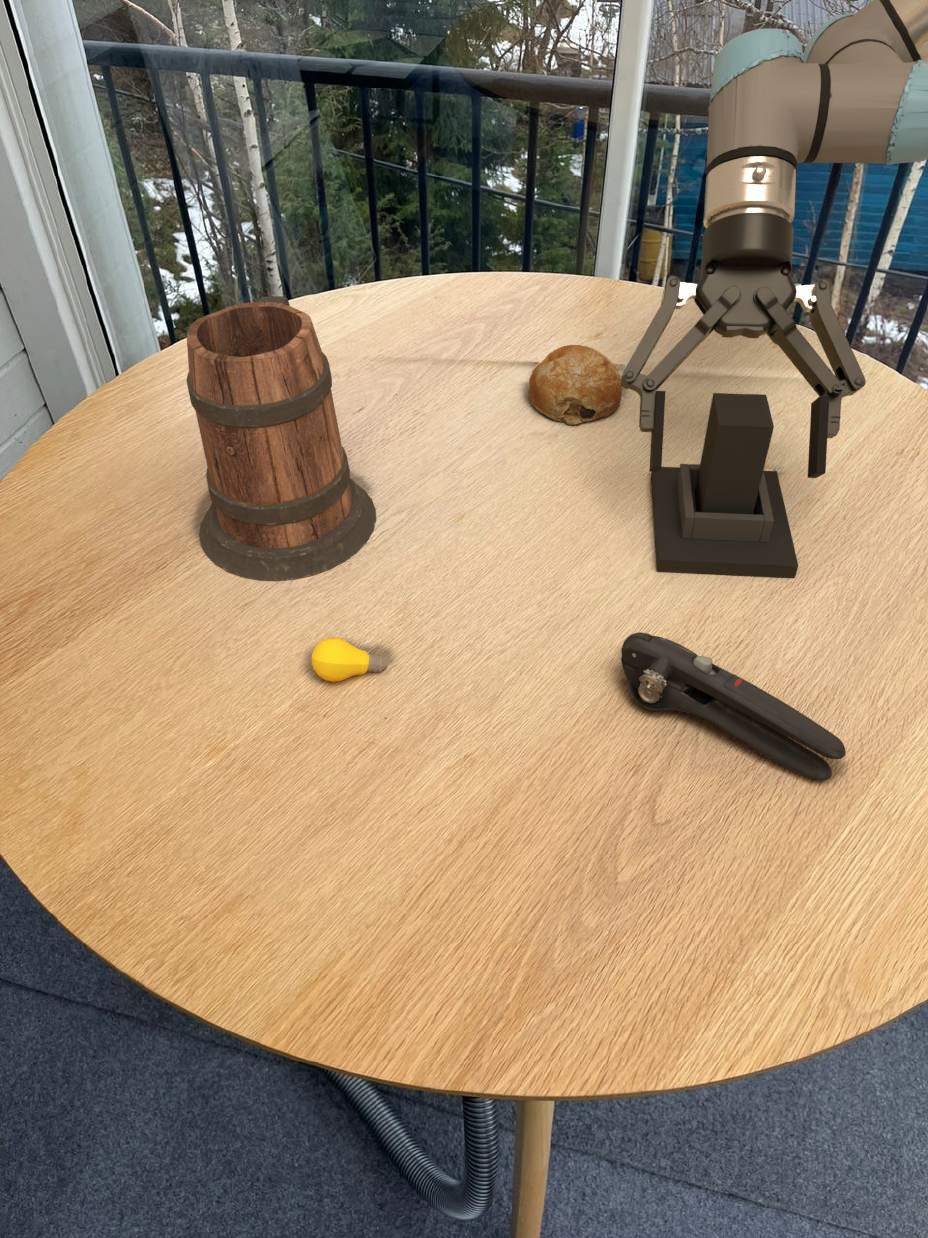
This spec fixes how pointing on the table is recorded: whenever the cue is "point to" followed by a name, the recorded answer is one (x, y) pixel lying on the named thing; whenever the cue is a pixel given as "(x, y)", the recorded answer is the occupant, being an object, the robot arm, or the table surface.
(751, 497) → the tall dark pillar
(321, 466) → the tankard
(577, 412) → the bread roll
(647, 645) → the can opener
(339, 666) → the light bulb
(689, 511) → the base pad
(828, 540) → the table surface
